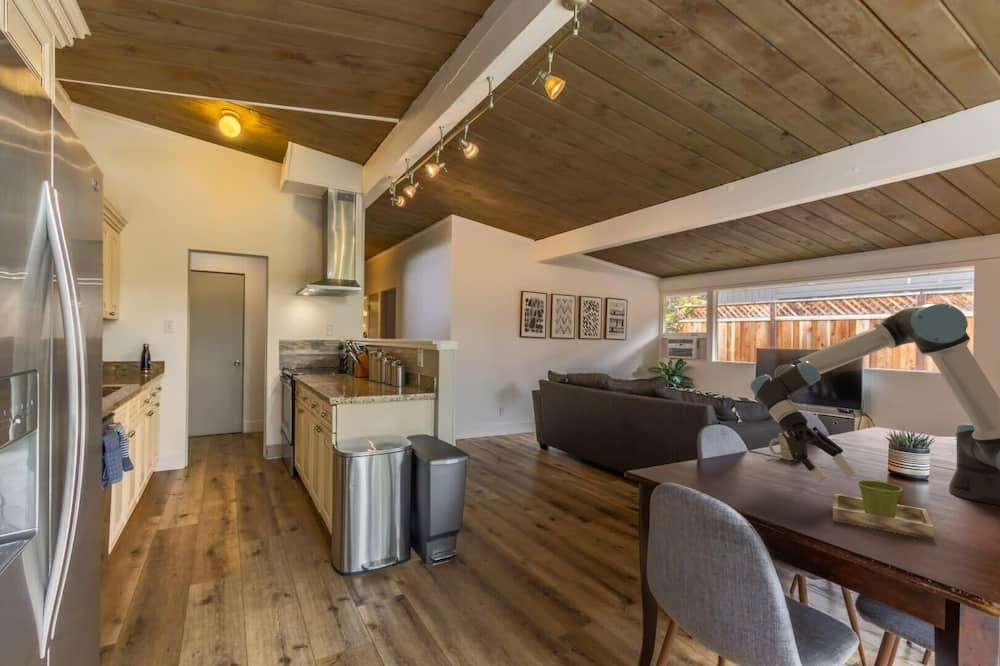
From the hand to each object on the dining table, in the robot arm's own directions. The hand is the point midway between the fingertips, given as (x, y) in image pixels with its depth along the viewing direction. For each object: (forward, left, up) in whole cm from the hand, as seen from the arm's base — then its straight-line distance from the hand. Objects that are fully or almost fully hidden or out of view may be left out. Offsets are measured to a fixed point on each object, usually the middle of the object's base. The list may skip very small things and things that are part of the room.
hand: (837, 477), depth 136 cm
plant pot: (-9, +5, -8) cm, 13 cm away
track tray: (-9, +6, -9) cm, 14 cm away
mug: (+19, -57, -9) cm, 61 cm away
